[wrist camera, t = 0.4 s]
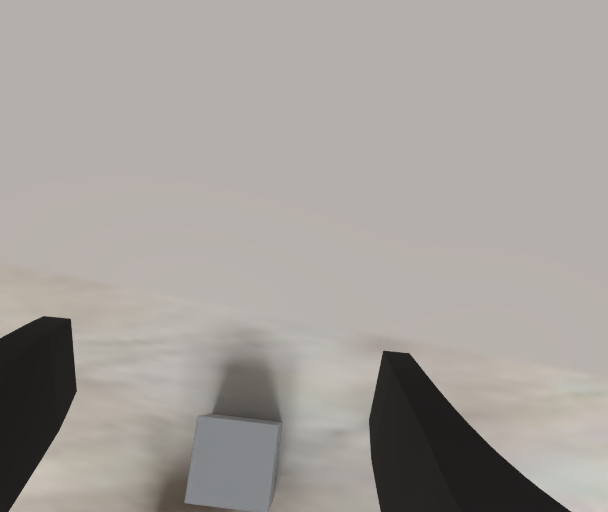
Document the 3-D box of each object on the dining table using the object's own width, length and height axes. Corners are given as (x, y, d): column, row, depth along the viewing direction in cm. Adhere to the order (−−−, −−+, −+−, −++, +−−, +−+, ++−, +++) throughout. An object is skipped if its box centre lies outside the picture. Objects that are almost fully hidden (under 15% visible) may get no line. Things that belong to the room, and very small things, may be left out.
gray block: (273, 498, 36) (267, 513, 32) (200, 489, 37) (184, 503, 32) (282, 421, 38) (278, 425, 33) (212, 413, 38) (198, 415, 33)
